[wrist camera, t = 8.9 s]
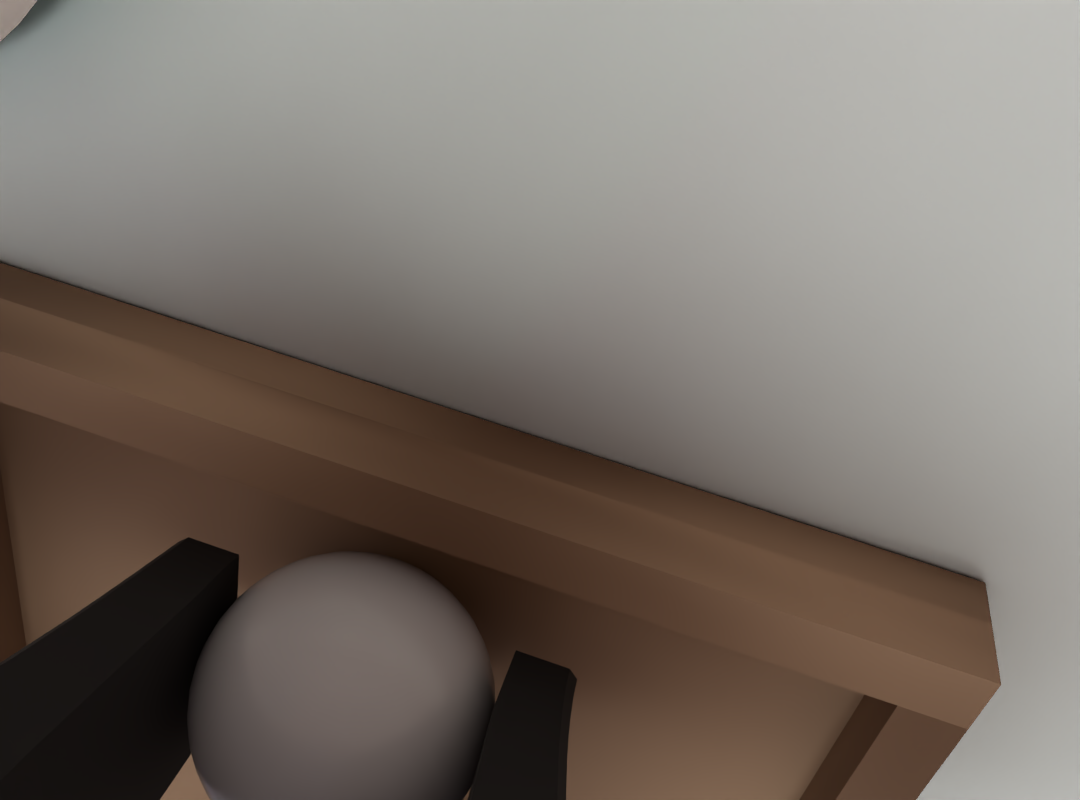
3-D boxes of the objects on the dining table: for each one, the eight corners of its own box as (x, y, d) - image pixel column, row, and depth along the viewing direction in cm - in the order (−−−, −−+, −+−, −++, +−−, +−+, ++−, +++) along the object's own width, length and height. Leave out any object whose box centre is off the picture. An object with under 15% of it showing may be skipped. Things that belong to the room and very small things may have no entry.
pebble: (269, 642, 13) (128, 863, 11) (281, 456, 11) (115, 670, 9) (502, 724, 13) (415, 972, 10) (554, 546, 11) (463, 796, 9)
